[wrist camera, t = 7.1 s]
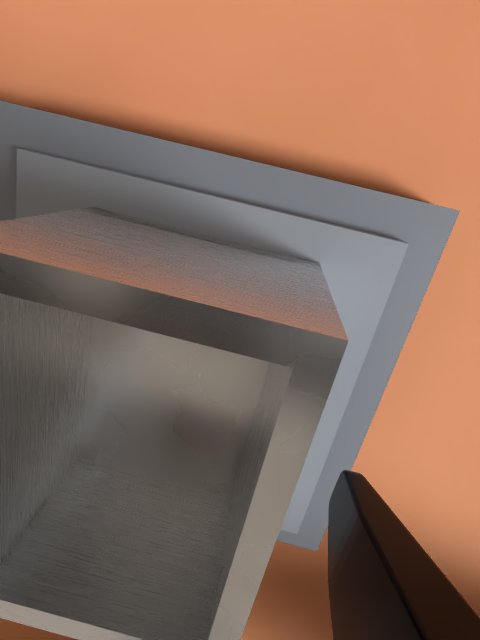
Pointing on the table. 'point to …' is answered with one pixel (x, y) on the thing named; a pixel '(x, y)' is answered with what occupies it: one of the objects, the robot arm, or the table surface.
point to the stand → (259, 231)
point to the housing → (150, 421)
